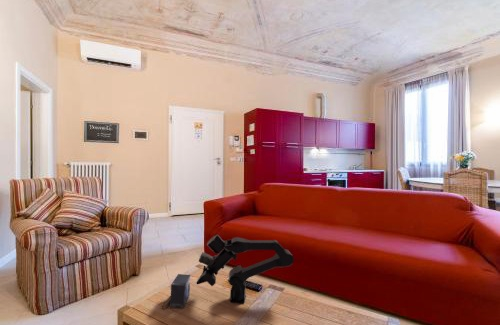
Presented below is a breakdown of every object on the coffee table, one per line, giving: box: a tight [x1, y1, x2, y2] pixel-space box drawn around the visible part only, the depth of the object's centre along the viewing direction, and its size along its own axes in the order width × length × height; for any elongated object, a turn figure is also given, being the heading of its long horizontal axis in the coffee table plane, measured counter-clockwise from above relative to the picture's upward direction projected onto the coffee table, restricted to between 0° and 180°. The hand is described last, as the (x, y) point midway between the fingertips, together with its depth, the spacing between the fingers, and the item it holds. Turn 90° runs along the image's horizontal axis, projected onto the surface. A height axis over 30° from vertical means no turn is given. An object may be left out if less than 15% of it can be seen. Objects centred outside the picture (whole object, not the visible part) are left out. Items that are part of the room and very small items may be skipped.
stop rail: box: [161, 294, 171, 310], centre depth 117 cm, size 2×14×2 cm, turn 171°
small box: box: [169, 273, 191, 309], centre depth 116 cm, size 11×6×10 cm, turn 179°
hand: (197, 283), depth 117 cm, fingers closed
